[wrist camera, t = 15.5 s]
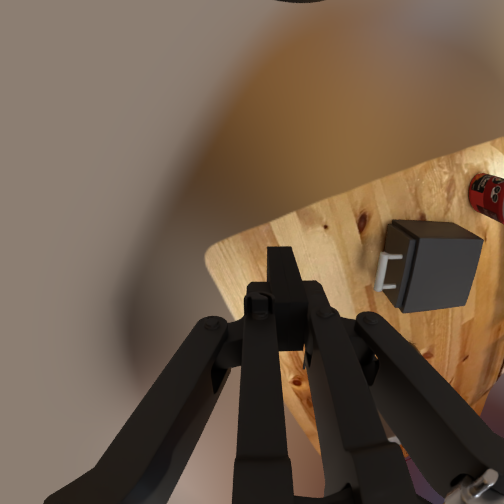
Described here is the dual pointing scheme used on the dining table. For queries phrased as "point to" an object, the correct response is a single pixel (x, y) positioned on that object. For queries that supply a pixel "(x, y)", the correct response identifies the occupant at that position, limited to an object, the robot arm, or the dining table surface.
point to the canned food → (488, 196)
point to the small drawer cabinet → (440, 265)
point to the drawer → (395, 265)
